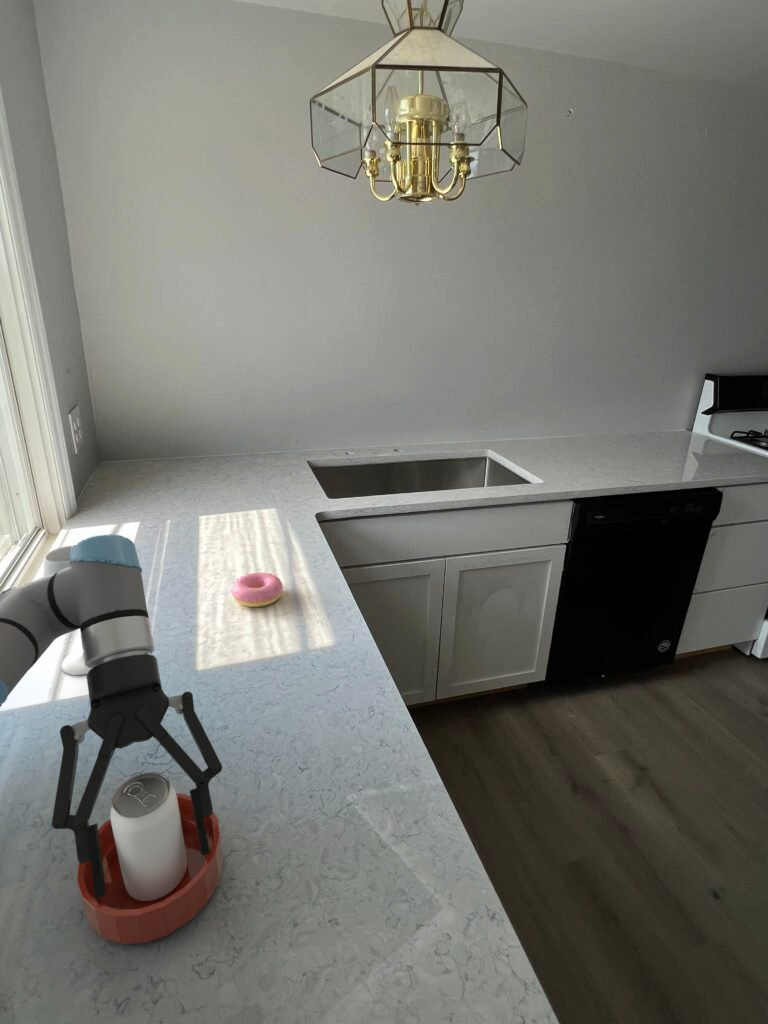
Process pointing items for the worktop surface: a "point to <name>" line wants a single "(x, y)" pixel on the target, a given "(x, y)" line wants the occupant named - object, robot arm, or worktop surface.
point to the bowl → (160, 917)
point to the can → (148, 836)
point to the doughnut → (257, 589)
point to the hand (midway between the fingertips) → (155, 873)
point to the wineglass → (75, 660)
